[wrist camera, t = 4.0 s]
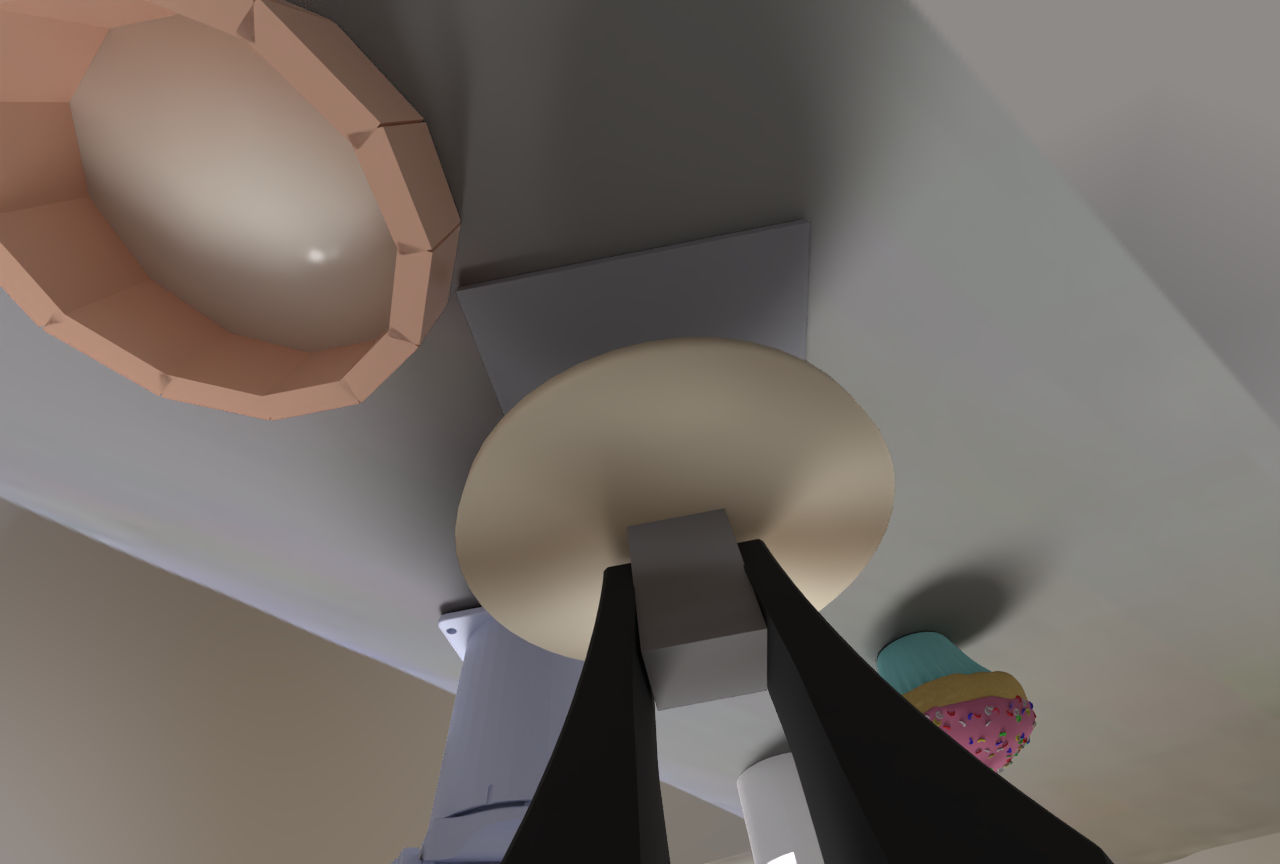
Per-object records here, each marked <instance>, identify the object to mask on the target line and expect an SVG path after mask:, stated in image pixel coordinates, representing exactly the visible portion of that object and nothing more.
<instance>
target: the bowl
mask: <svg viewBox="0 0 1280 864" xmlns="http://www.w3.org/2000/svg"><path fill="white" fill-rule="evenodd" d="M423 120H424V118H423V117H422V116H421V115H420V114H419V113H418V112H417V111H416V110H415V109H414V108H413V107H412V105H411V104H410V103H409V102H408V101H407V100H406V99H405V98H404V97H403V96H402V95H401V94H400V92H399V91H398V90H397V89H396V88H395V87H394V86H393V85H392V84H391V83H390V82H389V80H388V79H387V78H386V77H385V76H384V75H383V74H382V73H381V72H380V71H379V70H378V69H377V67H376V66H375V65H374V64H373V63H372V62H371V61H370V60H369V59H368V58H367V57H366V56H365V54H364V53H363V52H362V51H361V50H360V49H359V48H358V47H357V46H356V45H355V44H354V43H353V41H352V40H351V39H350V38H349V37H348V36H347V35H346V34H345V33H344V32H343V31H342V30H341V28H340V27H339V26H338V25H337V24H336V23H334V22H332V20H330V19H328V18H325V17H323V16H321V15H318V14H316V13H314V12H311V11H309V10H307V9H304V8H302V7H300V6H297V5H295V4H293V3H290V2H288V1H286V0H0V286H1V287H2V288H3V289H4V290H5V291H6V292H7V293H8V294H9V295H10V297H11V298H12V299H13V300H14V301H15V302H16V303H17V304H18V305H19V306H20V307H21V308H22V309H23V310H24V311H25V312H26V314H27V315H28V316H29V317H30V318H31V319H32V320H33V321H34V322H35V323H36V324H37V325H38V326H39V327H42V326H45V327H44V328H43V330H44V331H46V332H47V333H49V334H51V335H53V336H54V337H56V338H58V339H60V340H61V341H63V342H65V343H67V344H68V345H70V346H72V347H74V348H75V349H77V350H79V351H81V352H82V353H84V354H86V355H88V356H89V357H91V358H93V359H95V360H96V361H98V362H100V363H102V364H103V365H105V366H107V367H109V368H110V369H112V370H114V371H116V372H117V373H119V374H121V375H123V376H125V377H126V378H128V379H130V380H132V381H133V382H135V383H137V384H139V385H140V386H142V387H144V388H146V389H147V390H149V391H151V392H153V393H154V394H156V395H158V396H160V395H162V398H167V399H172V400H176V401H181V402H186V403H190V404H195V405H200V406H204V407H209V408H214V409H218V410H223V411H228V412H232V413H237V414H242V415H246V416H251V417H256V418H260V419H265V420H271V419H272V420H278V419H284V418H289V417H294V416H299V415H304V414H309V413H314V412H319V411H325V410H330V409H335V408H340V407H345V406H350V405H355V404H360V403H361V402H363V401H364V400H365V399H366V398H367V397H368V396H369V395H370V394H371V393H372V392H373V391H374V390H375V389H376V388H377V387H378V386H379V385H380V384H381V383H382V382H383V381H384V380H386V379H387V378H388V377H389V376H390V375H391V374H392V373H393V372H394V371H395V370H396V369H397V368H398V367H399V366H400V365H401V364H402V363H403V362H404V361H405V360H406V359H407V358H408V357H409V356H410V355H411V354H412V353H413V352H414V351H415V350H416V349H417V348H418V347H419V346H420V344H421V343H422V341H423V340H424V338H425V337H426V335H427V334H428V332H429V331H430V329H431V328H432V326H433V325H434V323H435V322H436V320H437V319H438V317H439V316H440V314H441V313H442V311H443V310H444V308H445V307H446V305H447V304H448V301H449V295H450V289H451V283H452V277H453V271H454V265H455V259H456V253H457V247H458V241H459V235H460V229H461V224H460V222H461V220H460V217H459V214H458V212H457V209H456V206H455V203H454V200H453V197H452V195H451V192H450V189H449V186H448V183H447V180H446V178H445V175H444V172H443V169H442V166H441V163H440V161H439V158H438V155H437V152H436V149H435V146H434V144H433V141H432V138H431V135H430V132H429V130H428V127H427V124H426V122H422V121H423ZM421 122H422V123H421Z"/></svg>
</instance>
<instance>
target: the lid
mask: <svg viewBox="0 0 1280 864" xmlns="http://www.w3.org/2000/svg"><path fill="white" fill-rule="evenodd" d="M894 494H895V481H894V468H893V464H892V461H891V457H890V453H889V449H888V447H887V445H886V443H885V441H884V439H883V437H882V435H881V433H880V431H879V429H878V428H877V426H876V425H875V424H874V422H873V421H872V420H871V419H870V417H869V416H868V415H867V413H866V412H865V411H864V410H863V409H862V407H861V406H860V405H859V404H858V403H857V402H856V401H855V400H854V399H853V397H852V396H851V395H850V394H849V393H848V392H847V391H846V390H845V389H844V388H843V387H842V386H840V385H839V384H838V383H837V382H836V381H835V380H834V379H833V378H831V377H830V376H829V375H828V374H826V373H825V372H823V371H821V370H820V369H818V368H817V367H815V366H813V365H812V364H810V363H809V362H807V361H805V360H803V359H801V358H798V357H796V356H793V355H791V354H789V353H786V352H784V351H782V350H779V349H776V348H772V347H768V346H764V345H761V344H757V343H753V342H749V341H742V340H734V339H726V338H718V337H681V338H673V339H665V340H657V341H649V342H644V343H640V344H636V345H632V346H628V347H624V348H620V349H616V350H612V351H609V352H607V353H604V354H602V355H599V356H596V357H594V358H591V359H589V360H586V361H583V362H581V363H578V364H577V365H575V366H573V367H571V368H569V369H567V370H565V371H564V372H562V373H560V374H558V375H556V376H554V377H552V378H550V379H549V380H547V381H546V382H545V383H543V384H542V385H540V386H539V387H538V388H536V389H535V390H533V391H532V392H531V393H529V394H528V395H526V396H525V397H524V398H523V399H522V400H521V401H519V402H518V403H517V404H516V405H515V406H514V407H513V408H512V409H511V410H510V411H509V412H508V413H507V414H506V415H505V416H504V417H503V418H502V419H501V420H500V421H499V423H498V424H497V425H496V426H495V428H494V429H493V430H492V432H491V433H490V434H489V435H488V437H487V438H486V439H485V441H484V443H483V444H482V446H481V448H480V450H479V452H478V453H477V455H476V457H475V459H474V461H473V463H472V466H471V469H470V472H469V474H468V477H467V480H466V483H465V487H464V490H463V494H462V497H461V500H460V504H459V507H458V513H457V520H456V528H455V539H456V553H457V557H458V560H459V564H460V568H461V572H462V574H463V576H464V578H465V580H466V582H467V584H468V586H469V588H470V590H471V592H472V593H473V594H474V596H475V597H476V599H477V600H478V601H479V603H480V604H481V606H482V607H483V608H484V609H485V610H486V611H487V612H488V613H489V614H490V615H491V616H492V617H493V618H494V619H495V620H496V621H498V622H499V623H500V624H502V625H503V626H504V627H505V628H507V629H508V630H509V631H511V632H512V633H514V634H516V635H517V636H519V637H521V638H522V639H524V640H526V641H528V642H529V643H532V644H534V645H536V646H538V647H541V648H543V649H545V650H547V651H550V652H553V653H556V654H559V655H562V656H565V657H569V658H573V659H577V660H582V661H585V659H586V655H587V651H588V647H589V644H590V640H591V636H592V632H593V629H594V625H595V620H596V616H597V611H598V606H599V601H600V596H601V590H602V583H603V573H604V570H605V569H606V568H607V567H611V566H616V565H621V564H627V563H631V567H632V576H633V585H634V587H635V602H636V611H637V620H638V629H639V637H640V646H641V653H642V657H643V660H644V664H645V667H646V671H647V674H648V678H649V681H650V685H651V688H652V692H653V695H654V699H655V702H656V706H657V709H658V711H660V710H665V709H670V708H676V707H681V706H686V705H692V704H697V703H702V702H708V701H713V700H718V699H724V698H729V697H735V696H740V695H745V694H751V693H756V692H761V691H767V627H766V624H765V621H764V618H763V615H762V612H761V610H760V607H759V604H758V601H757V598H756V596H755V593H754V590H753V587H752V585H751V583H750V581H749V579H748V577H747V574H746V572H745V569H744V567H743V566H744V565H745V564H744V562H743V559H742V556H741V553H740V550H739V547H738V545H737V543H739V542H744V541H749V540H755V539H760V540H762V541H764V543H765V545H766V546H767V548H768V549H769V550H770V552H771V553H772V555H773V556H774V558H775V559H776V560H777V562H778V563H779V564H780V566H781V567H782V568H783V570H784V571H785V572H786V574H787V575H788V576H789V577H790V579H791V580H792V581H793V582H794V584H795V585H796V586H797V587H798V589H799V590H800V591H801V592H802V593H803V595H804V596H805V597H806V598H807V599H808V600H809V602H810V603H811V604H812V605H813V606H814V607H815V608H816V610H817V611H820V610H821V609H822V608H824V607H825V606H826V605H827V604H829V603H830V602H831V601H832V600H834V599H835V598H836V597H837V596H838V595H839V594H840V593H841V592H843V591H844V590H845V589H846V588H847V587H848V586H849V585H850V584H851V583H852V582H853V581H854V579H855V578H856V577H857V576H858V575H859V574H860V572H861V571H862V570H863V569H864V568H865V566H866V565H867V564H868V562H869V560H870V559H871V557H872V556H873V554H874V553H875V551H876V550H877V548H878V546H879V544H880V542H881V540H882V538H883V536H884V534H885V532H886V529H887V526H888V523H889V520H890V516H891V513H892V509H893V502H894Z"/></svg>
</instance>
